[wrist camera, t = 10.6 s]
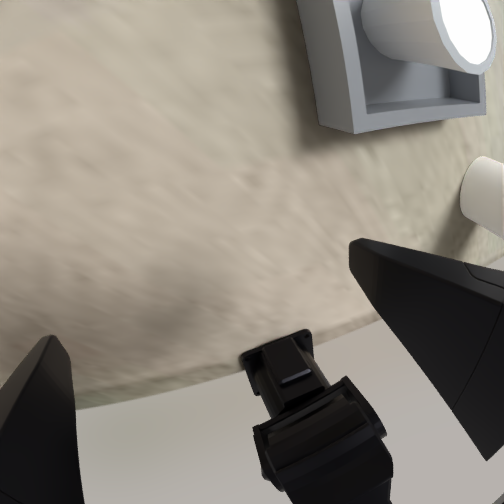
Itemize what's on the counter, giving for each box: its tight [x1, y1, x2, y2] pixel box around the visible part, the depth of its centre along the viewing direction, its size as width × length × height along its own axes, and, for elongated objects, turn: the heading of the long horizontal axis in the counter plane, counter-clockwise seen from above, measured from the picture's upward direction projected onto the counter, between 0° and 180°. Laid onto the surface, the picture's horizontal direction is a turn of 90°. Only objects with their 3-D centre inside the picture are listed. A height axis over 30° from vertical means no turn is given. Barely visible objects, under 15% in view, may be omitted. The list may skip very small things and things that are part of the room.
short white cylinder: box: [361, 0, 497, 75], centre depth 14 cm, size 7×7×7 cm
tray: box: [296, 0, 486, 134], centre depth 15 cm, size 14×14×4 cm
